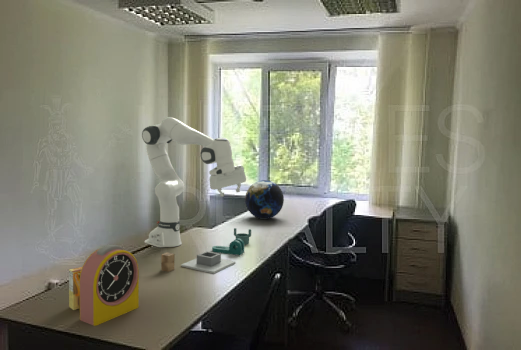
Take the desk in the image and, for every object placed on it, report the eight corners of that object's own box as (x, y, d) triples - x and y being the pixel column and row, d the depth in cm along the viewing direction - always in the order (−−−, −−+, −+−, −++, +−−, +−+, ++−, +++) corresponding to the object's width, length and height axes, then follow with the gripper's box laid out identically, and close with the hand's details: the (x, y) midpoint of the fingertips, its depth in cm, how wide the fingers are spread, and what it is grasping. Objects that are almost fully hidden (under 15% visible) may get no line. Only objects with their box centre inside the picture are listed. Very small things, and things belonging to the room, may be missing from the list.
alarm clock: (95, 326, 164) (94, 253, 161) (78, 319, 169) (78, 249, 166) (139, 307, 182) (139, 241, 179) (123, 301, 187) (123, 238, 184)
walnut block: (161, 270, 227) (161, 254, 226) (167, 268, 231) (167, 252, 230) (168, 272, 225) (168, 256, 224) (174, 269, 229) (174, 253, 228)
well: (181, 266, 234) (181, 255, 233) (203, 257, 252) (204, 247, 251) (214, 273, 225) (214, 262, 224) (235, 263, 242) (235, 253, 242)
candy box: (90, 301, 186) (90, 264, 184) (95, 304, 183) (95, 267, 181) (68, 307, 179) (68, 269, 178) (73, 310, 176) (73, 271, 175)
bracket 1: (244, 252, 264) (244, 239, 263) (240, 255, 258) (240, 241, 257) (214, 249, 269) (215, 235, 268) (210, 252, 263) (210, 238, 262)
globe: (259, 213, 379) (260, 176, 375) (290, 218, 361) (291, 180, 358) (236, 218, 355) (237, 179, 351) (268, 224, 337) (270, 184, 334)
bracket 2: (252, 244, 282) (252, 229, 282) (238, 245, 278) (239, 230, 277) (245, 240, 290) (245, 226, 289) (231, 242, 285) (232, 227, 285)
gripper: (240, 164, 250) (244, 189, 252) (206, 172, 240) (210, 198, 242) (245, 164, 244) (250, 190, 246) (211, 172, 234) (216, 199, 236)
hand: (230, 194), depth 244 cm, fingers open, 8 cm apart
